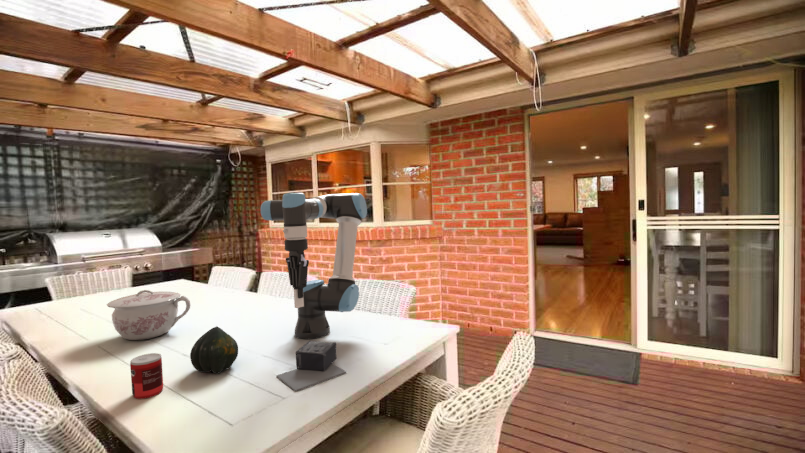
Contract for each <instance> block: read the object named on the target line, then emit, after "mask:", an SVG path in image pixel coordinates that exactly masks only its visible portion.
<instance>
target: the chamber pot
mask: <svg viewBox="0 0 805 453" xmlns="http://www.w3.org/2000/svg"><path fill="white" fill-rule="evenodd" d="M181 301H183V302H185V306H186V307H185V310H184V311H183V312H182V313H181V314H179V315H178V312H179V303H180V302H181ZM106 306H107V307H108V308H112V309H114V310H113V311H112V314H111V322H112V324H113V327H114V330H115V331H116V332H117V333H118V334H119V335H120V336H121V338H123V339H124V340H128V341H143V340H149V339H154V338H157V337H160V336H162V335H165V334H166V333H168V332H169V331H171V329H172V328H173V327H174V326H175V325H176V323H177V322H178V321H179V320H180V319H181V318H183V317H185V315H187V313H188V312H189V311H190V309H191V307H192V306H191V301H190V299H189V298H188V297H186V296H185V295H182V294H180V293H178V292H176V291H175V292H174V291H151V290H150V289H144V290H140V291H138V292H137V293H136V294H131V295H130V294H129V295H126V296H123V297H119V298H116V299H113V300H111V301H109V302H108V303H106Z"/></svg>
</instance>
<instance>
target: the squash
mask: <svg viewBox="0 0 805 453" xmlns="http://www.w3.org/2000/svg"><path fill="white" fill-rule="evenodd" d="M238 355H239V345H238V343H237V341H236V339H234V338H233V336H231V335H230V334H229V333H228V332H226V331H224V330H223V329H222V328H220V327H218V326H217V325H216V326H214V327H212V328H211V329H209V330H208V331H206V332H205V333H204V334H202V335H201V336H200V337H199V338H198V339H197V340H196V341H195V343H194V344H193V346H192V347H191V350H190V354H189V357H190V358H189V359H190V363H191V365H192V367H193V368H194V369H195V370H196V371H198V372H199V373H205V372H211V371H212V373H214V374H219V373H221V372H222V371H227V370H228V369H230V368H231V367H232V365H233V364H234V363H235V361H236V360H237V358H238Z"/></svg>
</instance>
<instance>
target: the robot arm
mask: <svg viewBox="0 0 805 453" xmlns="http://www.w3.org/2000/svg"><path fill="white" fill-rule="evenodd" d="M260 215H261V217H262V219H263V220H264V221H271V222H273V221H283V229H282V233H283V236H284V240H283V241H284V242H283V243H284V250H285V251H286V252H288V257H286V258H285V262H286V266H287V272H288V278H289V284H290V286H292V289H293V302H294V308H296V309H297V321H296V323H295V328H294V337H295V338H297V339H300V340H313V339H314V340H315V339H320V338H323V337H326V336H327V335H329V334H330V333H331V330H330V328H331V327H330V324H329V321H328V319H327V316H326V312H339V313H347V312H348V313H349V312H352V311H353V310H354V309H355V307H356V306H357V305H358V301H359V296H360V292H359V290H360V288H359V286H358V285H357V284H356V280H355V279H354V278H353V273H354V263H355V255H356V254H355V253H356V246H357V245H356V244H357V236H358V227H359V225H361V224H362V219H365V218H366V217H367V216H368V207H367V202H366V199H365V196H363V194H361V193H360V192H359V193H358V192H355V193H354V192H351V193H331V194H330V193H329V194H325V195H319V196H313V197H311V198H306V194H305V193H303V192H291V193H290V192H289V193H288V192H287V193H284V194H283V195H282V199H276V200H273V199H272V200H271V199H269V200H265V201H263V202H262V203H261V205H260ZM319 218H323V219H333V220H334V219H335V221H336V222H337V224H338V227H337V228H338V229H337V236H336V247H335V253H334V254H335V255H334V259H333V260H334V261H333V270H332V276H330V277H328V281H327V282H328V283H325V281H324V279H315V280H309V281H308V269H309V263H310V260H309V259H306V258H305V257H306V254H305V251H306V250H308V249H309V248H308V247H309V246H308V245H309V244H308V226H307V224H308V223H307V221H309V220H310V221H311V220H313V221H315V220H317V219H319Z"/></svg>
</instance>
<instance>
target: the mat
mask: <svg viewBox="0 0 805 453" xmlns="http://www.w3.org/2000/svg"><path fill="white" fill-rule="evenodd" d="M345 374H347V370H344V369H342V368H341V367H339V366H338V365H336V364H334V363H332V364H331V365H330V366H329V367H328V368H327V369H326V370H325V371H318V370H306V369H297V368H295V369H293V370H289V371H285V372H283V373H280V374H278V375H276V378H277V379H279V380H280V381H281V382H283V383H284V384H285V385H286V386H287V387H289V388H290V389H291V390H292V391H294V392H299V391H301V390H305V389H307V388H310V387H313V386H316V385H318V384H322V383H323V382H326V381H329V380H331V379H334V378H336V377H339V376H343V375H345Z"/></svg>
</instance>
